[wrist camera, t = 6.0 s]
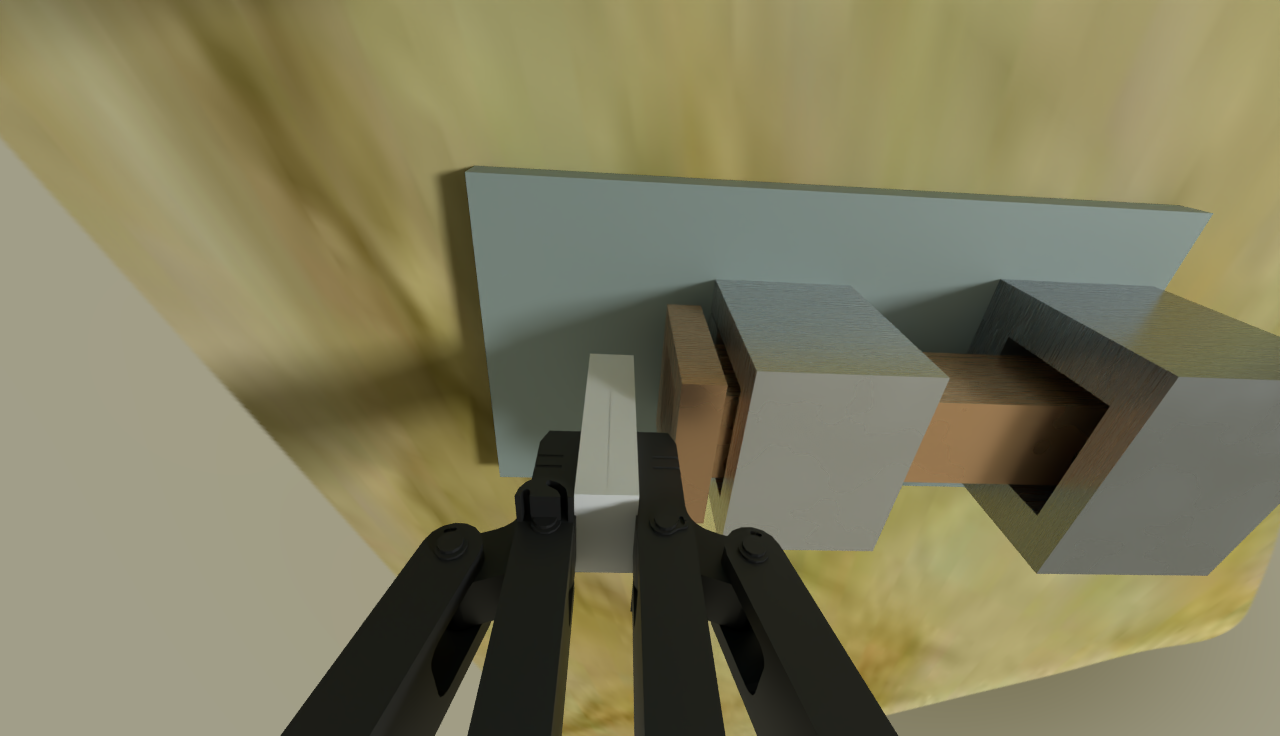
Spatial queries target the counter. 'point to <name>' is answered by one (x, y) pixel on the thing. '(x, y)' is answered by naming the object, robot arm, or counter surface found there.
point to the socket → (1142, 429)
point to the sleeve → (817, 413)
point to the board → (756, 268)
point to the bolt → (953, 443)
